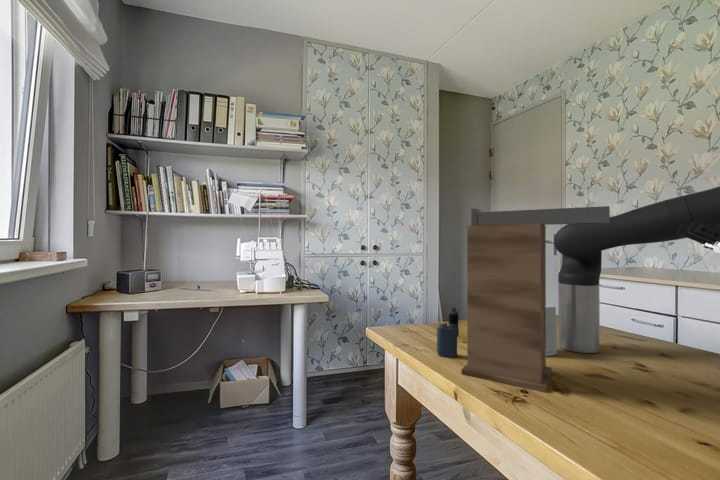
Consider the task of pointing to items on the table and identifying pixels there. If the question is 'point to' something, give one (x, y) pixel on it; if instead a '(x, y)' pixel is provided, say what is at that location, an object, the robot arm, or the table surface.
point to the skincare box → (551, 331)
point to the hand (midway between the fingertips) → (685, 226)
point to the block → (543, 216)
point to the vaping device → (448, 336)
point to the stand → (507, 304)
